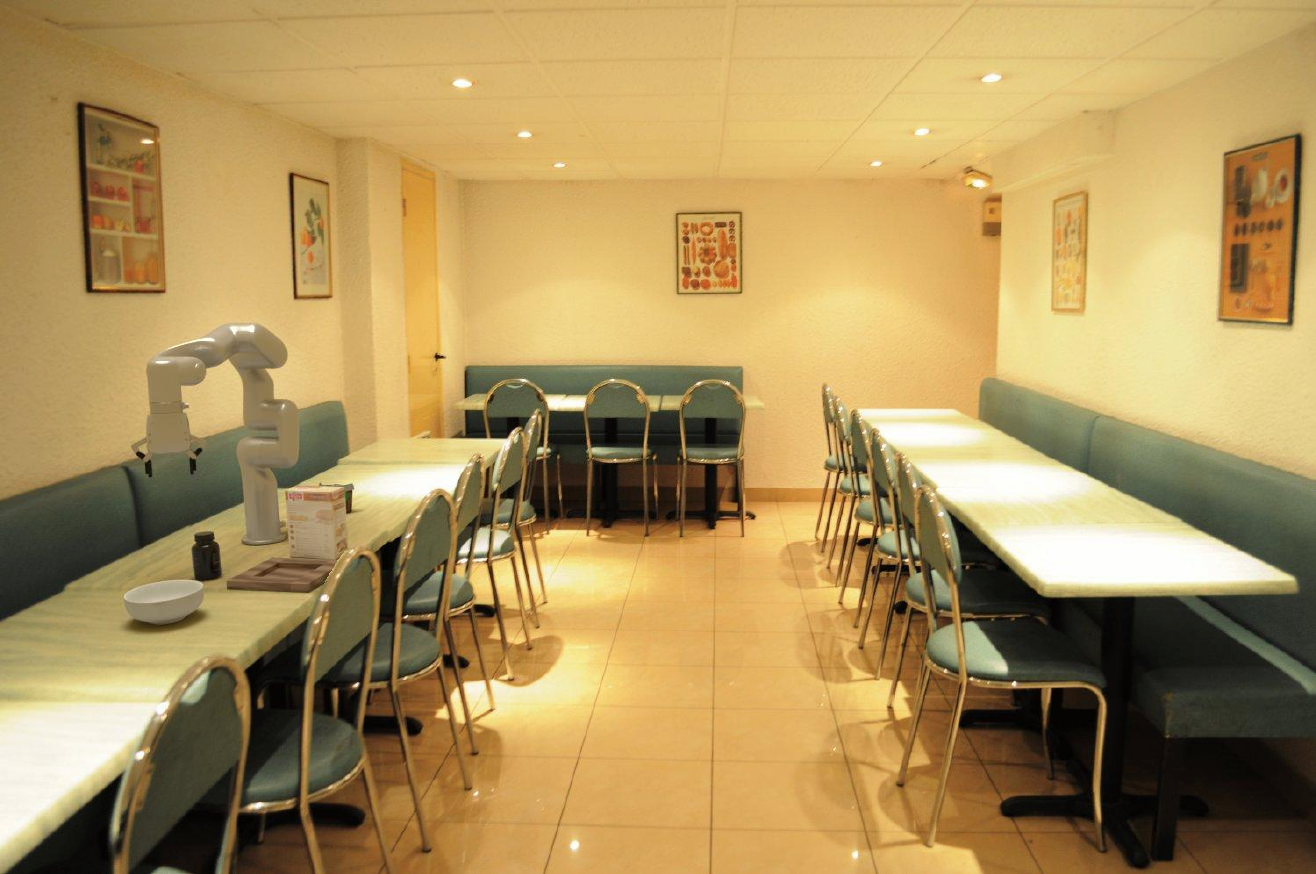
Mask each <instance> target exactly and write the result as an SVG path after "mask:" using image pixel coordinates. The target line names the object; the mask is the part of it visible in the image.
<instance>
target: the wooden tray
mask: <svg viewBox="0 0 1316 874" xmlns="http://www.w3.org/2000/svg"><path fill="white" fill-rule="evenodd" d="M337 560H338V559H336V560H330V559H316V558H302V557H270V558H268V559H266V560H264V561H262V562H260V563H259V564H256V565H254V566H253V567H251V568H249V569H246V570H245V571H243V572H240V573H239V574H238V575H235V576H233V577H232V578H229V579H228V580H226V581H225V583H226V590H234V591H235V590H237V591H240V590H241V591H261V592H278V593H279V592H280V593H281V592H283V593H285V592H286V593H287V592H288V593H305V594H307V593H310V592H312V591H313V590H315V589H316V588H318V587H320V586H322V585H323V584H324V581H325V580H326V579H327V577H328V576H329V573H330V572H331V571H332V569H333V568H334V566H335V564H336V563H337Z"/></svg>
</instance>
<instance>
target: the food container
mask: <svg viewBox="0 0 1316 874" xmlns="http://www.w3.org/2000/svg"><path fill="white" fill-rule="evenodd" d="M318 486H325V487H345V503H346V515H348V514H352V513H353V512H352V511H353V510H352V509H353V490H355V486H354V484H353V482H352V483H348V484H339V483H338V484H336V483H335V484H322V482H319V483H318Z"/></svg>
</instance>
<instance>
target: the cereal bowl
mask: <svg viewBox="0 0 1316 874" xmlns="http://www.w3.org/2000/svg"><path fill="white" fill-rule="evenodd" d="M204 588H205V586H204V584H203V583H202V581H199V580H196V579H193V580H192V579H171V580H170V579H169V580H163V581H157V582H155V581H154V582H152V583H147V584H143V585H139V586H137V587H135V588H132V589H130V590H128V591H127V592H126V593H125V594H124V595H123V603H124V608H125V610H126V612H127V614H128V615H129V616H130V617H131V618H133V619H134V620H137V621H140V622H145V623H149V624H151V625H156V626H157V625H168V624H173V623H177V622H180V621H183V620H184V619H185V618H187V616H188V615H191V614H192V613H194V612H195V611H196V610H198V608H200V607H201V604H202V603H203V602H204V601H203V600H204V598H205V597H204V596H205V589H204Z"/></svg>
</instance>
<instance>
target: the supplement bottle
mask: <svg viewBox="0 0 1316 874" xmlns="http://www.w3.org/2000/svg"><path fill="white" fill-rule="evenodd" d="M193 541H194V542H195V543H194V544H192V546H191V549H190V550H191V559H192V568H193V569H192V571H193V579H194V580H195V581H199V582H203V581H204V580H207V581H212V580H216V579H220V578H221V576H223V568H222V557H221V550H220V549H221V547H220V544H219V543H218V542H217V541H215V532H214V531H210V530H209V531H207V530H206V531H199V532H196V533H194V540H193Z"/></svg>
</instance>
